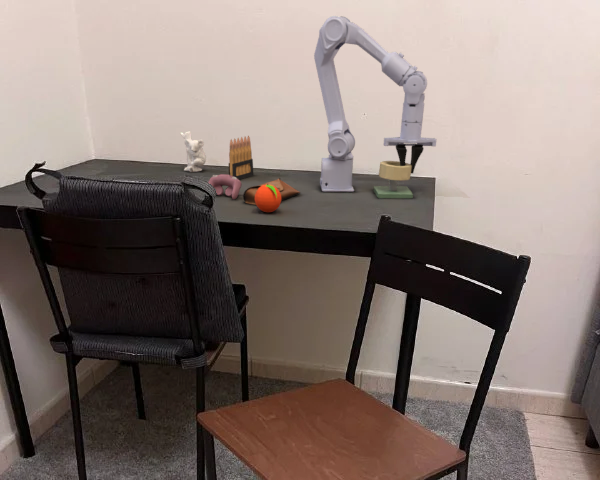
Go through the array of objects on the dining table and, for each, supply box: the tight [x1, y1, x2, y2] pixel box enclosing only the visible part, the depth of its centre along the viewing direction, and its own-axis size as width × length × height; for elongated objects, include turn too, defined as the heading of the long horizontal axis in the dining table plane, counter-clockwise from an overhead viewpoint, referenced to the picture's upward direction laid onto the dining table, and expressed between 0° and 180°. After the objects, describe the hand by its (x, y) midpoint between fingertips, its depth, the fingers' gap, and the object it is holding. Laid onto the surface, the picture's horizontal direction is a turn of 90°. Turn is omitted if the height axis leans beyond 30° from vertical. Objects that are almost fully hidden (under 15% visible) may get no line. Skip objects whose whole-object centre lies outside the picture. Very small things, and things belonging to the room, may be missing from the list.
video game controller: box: [207, 173, 242, 200], centre depth 173 cm, size 10×5×7 cm, turn 71°
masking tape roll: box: [378, 160, 412, 181], centre depth 177 cm, size 9×9×4 cm
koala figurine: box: [179, 130, 207, 173], centre depth 201 cm, size 8×7×12 cm
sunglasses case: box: [242, 177, 301, 206], centre depth 173 cm, size 18×7×7 cm
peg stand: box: [372, 180, 414, 199], centre depth 178 cm, size 10×10×6 cm
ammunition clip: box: [228, 135, 254, 180], centre depth 193 cm, size 11×2×12 cm, turn 148°
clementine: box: [255, 184, 282, 213], centre depth 159 cm, size 8×7×7 cm
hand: (406, 172), depth 177 cm, fingers closed on masking tape roll, 2 cm apart
